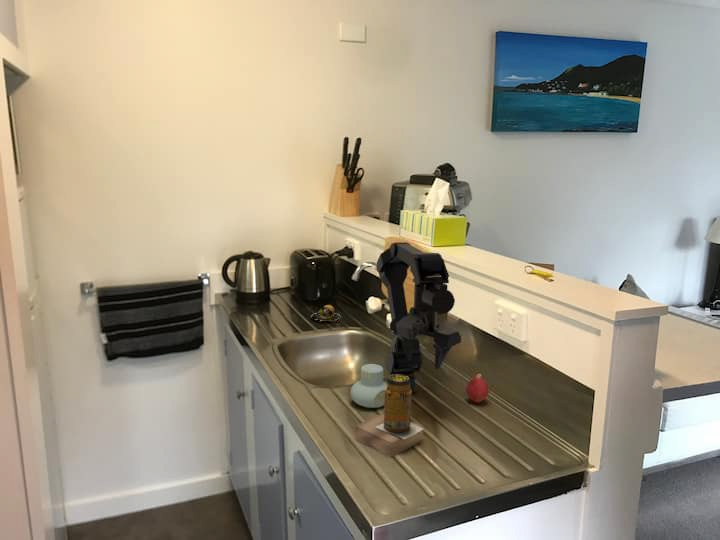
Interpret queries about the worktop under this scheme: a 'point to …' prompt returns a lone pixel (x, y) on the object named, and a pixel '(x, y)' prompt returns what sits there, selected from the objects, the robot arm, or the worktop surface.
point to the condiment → (398, 407)
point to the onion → (477, 389)
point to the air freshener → (370, 387)
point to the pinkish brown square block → (384, 437)
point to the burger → (327, 313)
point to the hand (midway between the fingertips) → (422, 364)
